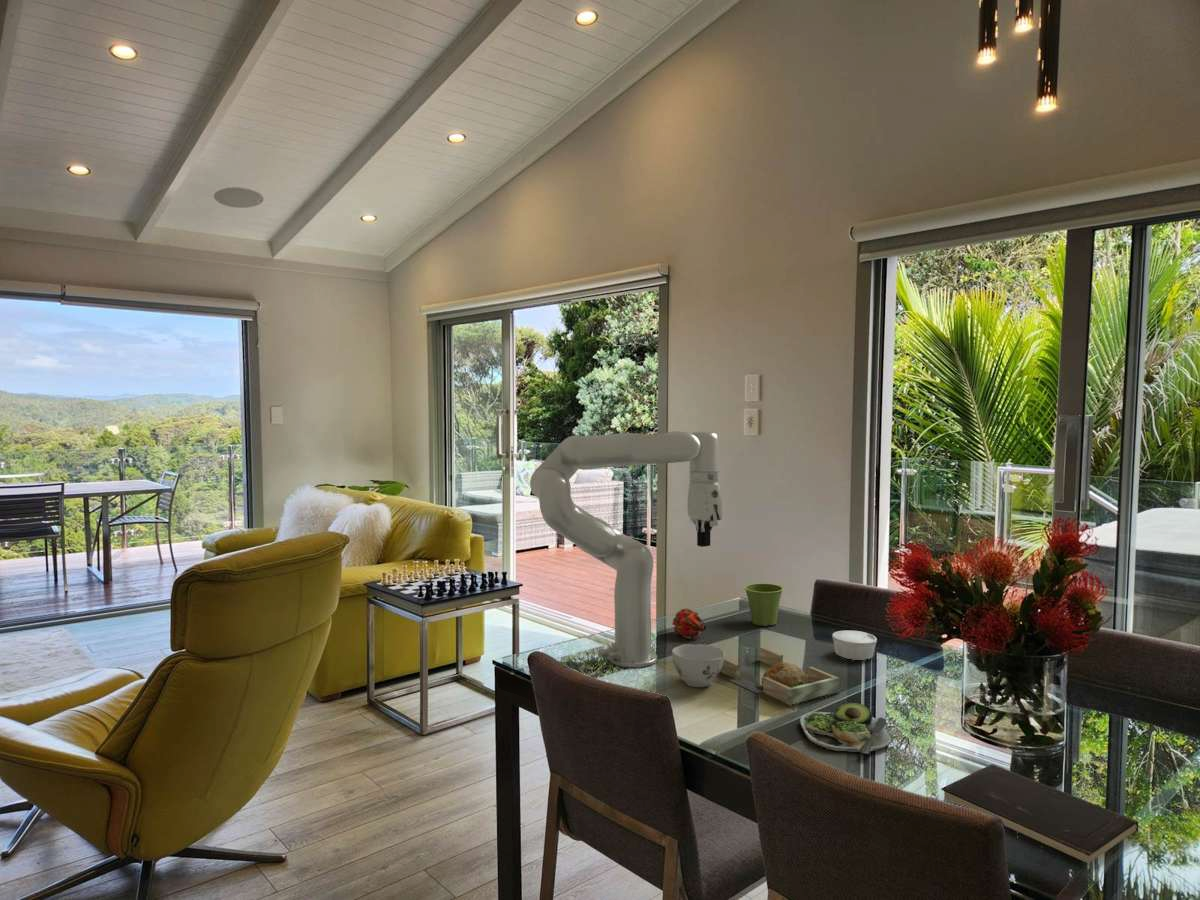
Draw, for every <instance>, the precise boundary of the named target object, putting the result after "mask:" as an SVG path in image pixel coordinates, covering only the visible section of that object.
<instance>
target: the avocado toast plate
mask: <svg viewBox="0 0 1200 900" xmlns="http://www.w3.org/2000/svg"><path fill="white" fill-rule="evenodd" d="M831 713H832V714H834V718H835V719H833V718H832V717H831V716H829V715H826V714H831ZM886 724H887V719H886V718H884V717H880V716H879V717H878V718H875V717H873V715H872V711H871V710H870V709H869V707H868V706H866V705H865V704H863V703H858V702H848V703H846V702H845V703H842V704H841V705H839V706H837V707H836V710H835V711H834V712H825V711H811V712H806V713H804V714H803V715H801V716H800V718H799V727H800V726H801V727H800V728H801V730H803V732H804V735H805V736H806V737H807V738H808V740H809V741H811V743H813V742H814V743H815V744H814V743H813V744H814V745H816V744H818V745H821V746H824V747H828V748H840V749H857V750H858V751H859V752H860V753H859V754H863V755H870V751H871V752H874V751H878V750H881V749H884V748H885V747H887V746H889V745H890V744H891V741H892V739H891V736H890V735H889V733H888V732H887V731H886V729H884V728H885V726H886ZM806 727H807V728H810V729H813V730H817V731H822V732H827V733H833V734H834V736H835V737H836V738H837V739H839V740H841V741H844V742H848V743H850V744H851V745H852V746H850V747H849V746H835V744H831V743H827V742H824V741H822V740H820V739H818V738H817V737H816V738H817V739H816V738H814V737H812V736H811V735H810V734H809V733H808V731H807V730H806Z"/></svg>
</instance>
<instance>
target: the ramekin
mask: <svg viewBox="0 0 1200 900" xmlns="http://www.w3.org/2000/svg"><path fill="white" fill-rule="evenodd" d="M831 636H832V640H833V646H834V652H835V653H836V655H837V656H838V655H839V656H841V657H844V658H847V659H853V660H852V661H854V660H864V661H867V660H866V659H869V660H870V658H871V659H872V658H873V657H874V654H875V650H876V644H877V642H878V639H877V637H876V636H875V635H874V634H871V633H868V632H865V631H861V630H860V631H859V630H851V629H850V630H838V631H835V632H833V633H832V635H831ZM839 656H838V657H839ZM841 657H840V658H841ZM844 658H843V659H844ZM847 659H846V660H847Z"/></svg>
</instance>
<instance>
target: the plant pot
mask: <svg viewBox="0 0 1200 900" xmlns="http://www.w3.org/2000/svg"><path fill="white" fill-rule="evenodd" d="M743 589H744V590H745V593H746V597H747V600H748V605H749V611H750V618H751V623H752V622H753V623H754V624H757V625H759V626H762V625H764V626H763V627H765V626H766V625H773V626H775V625H776V624H777V623H778V622H777V621H778V615H779V607H780V602H781V597H782V593H783V591H784V589H785V588H784V587H783V586H782V585H779V584H776V583H766V582H765V583H762V582H761V583H759V582H758V583H750V584H746V585H744V586H743ZM753 623H752V624H753ZM754 624H753V625H754ZM774 624H775V625H774ZM757 625H756V626H757Z"/></svg>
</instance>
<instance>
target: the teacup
mask: <svg viewBox="0 0 1200 900" xmlns="http://www.w3.org/2000/svg"><path fill="white" fill-rule="evenodd" d="M725 655H726V654H725V651H724V650H723V649H721V648H720V647H716V646H714V645H709V644H700V643H699V644H692V643H691V644H682V645H679V646H676V647H673V648H672V650H671V657H672V662H673V666H674V668H675V670H676V673H677V674H678V676H679V677H680V679H682V680H683V681H684V683H685V684H686V685H687V686H689V687H691V688H692V687H693V688H706V687H709V686H710V685H711V683H713V682H714V680H715V679H716V678H718V676H719V674H720V673H721V672H720V670H721V668H722V665H723V660H724V658H725Z"/></svg>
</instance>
